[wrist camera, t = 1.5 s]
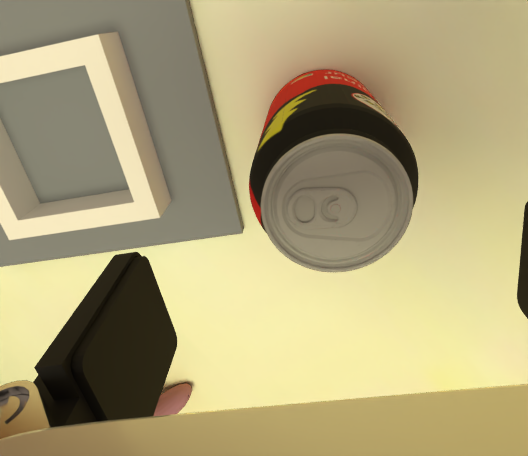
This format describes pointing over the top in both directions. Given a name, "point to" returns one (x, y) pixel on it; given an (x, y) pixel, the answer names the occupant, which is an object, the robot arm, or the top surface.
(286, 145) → the beverage can
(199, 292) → the top surface
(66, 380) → the robot arm
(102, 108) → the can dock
